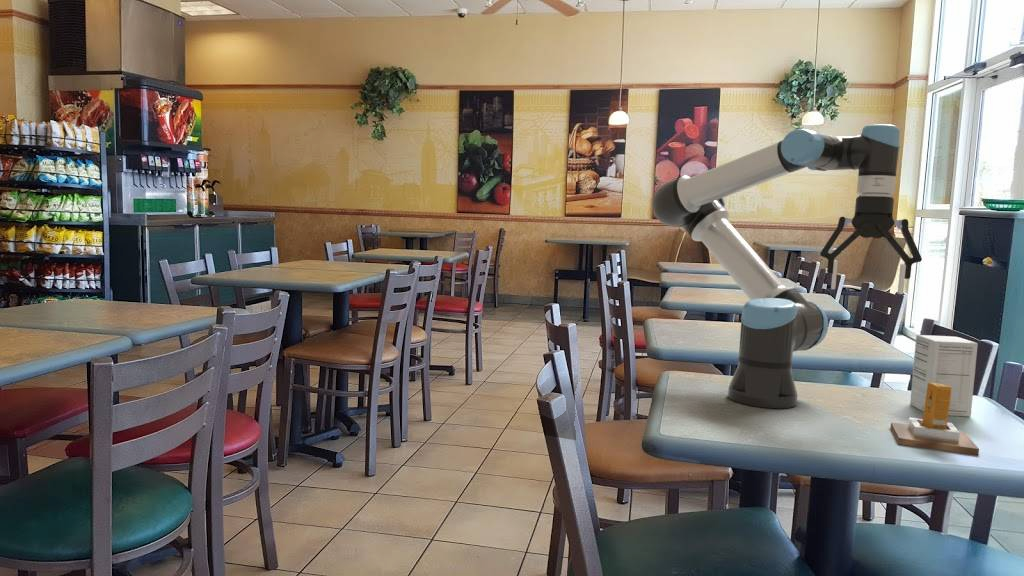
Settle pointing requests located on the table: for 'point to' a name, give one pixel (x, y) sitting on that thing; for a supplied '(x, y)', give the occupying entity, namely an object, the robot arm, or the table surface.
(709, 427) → the table surface
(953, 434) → the collar
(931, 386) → the supplement box
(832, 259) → the robot arm
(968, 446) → the board
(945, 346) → the supplement box
